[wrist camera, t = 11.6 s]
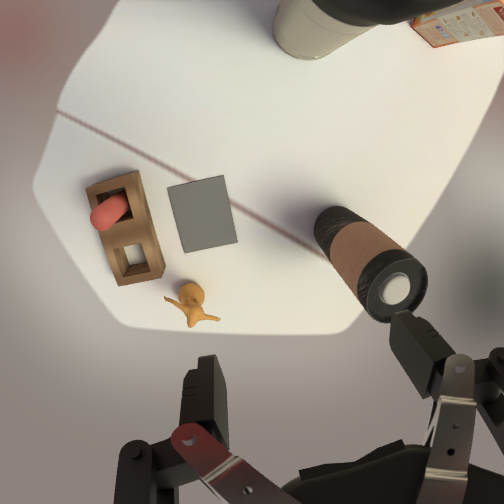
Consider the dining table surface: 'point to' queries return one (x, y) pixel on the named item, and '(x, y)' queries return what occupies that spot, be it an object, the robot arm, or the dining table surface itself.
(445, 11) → the cracker box
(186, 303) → the figurine
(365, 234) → the travel mug
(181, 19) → the dining table surface
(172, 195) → the mat
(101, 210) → the peg
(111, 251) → the hole block
